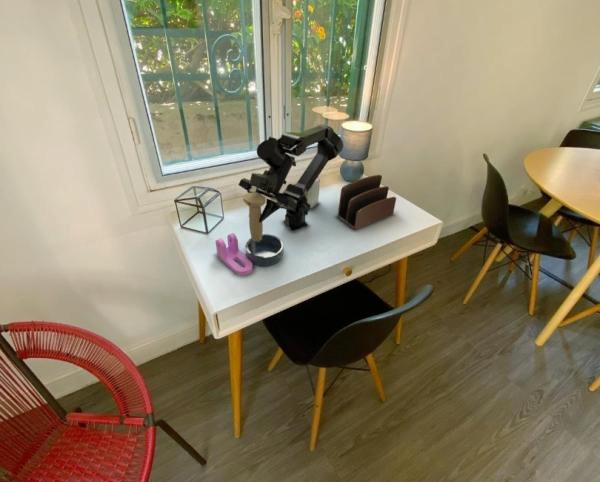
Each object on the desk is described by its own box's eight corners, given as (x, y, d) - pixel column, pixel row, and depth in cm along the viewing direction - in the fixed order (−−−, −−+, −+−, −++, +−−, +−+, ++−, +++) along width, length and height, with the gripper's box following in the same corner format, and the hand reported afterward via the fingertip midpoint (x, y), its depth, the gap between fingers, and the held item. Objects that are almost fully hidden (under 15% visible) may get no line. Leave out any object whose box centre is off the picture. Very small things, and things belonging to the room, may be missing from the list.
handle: (260, 247, 100) (258, 204, 91) (243, 239, 102) (240, 198, 94) (269, 238, 103) (268, 197, 95) (253, 231, 106) (250, 191, 97)
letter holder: (336, 217, 125) (340, 183, 117) (375, 203, 134) (381, 171, 126) (354, 230, 118) (360, 196, 110) (393, 214, 128) (401, 182, 120)
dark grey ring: (271, 239, 112) (271, 230, 110) (290, 259, 104) (290, 249, 102) (240, 251, 107) (239, 241, 105) (257, 272, 99) (256, 262, 97)
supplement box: (318, 203, 133) (320, 177, 126) (311, 209, 128) (312, 183, 122) (306, 198, 135) (307, 173, 128) (298, 205, 131) (299, 179, 124)
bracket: (217, 255, 105) (214, 238, 101) (232, 248, 108) (230, 231, 104) (240, 277, 97) (239, 259, 93) (256, 269, 100) (255, 251, 96)
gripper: (240, 152, 96) (216, 201, 95) (291, 171, 88) (265, 224, 87) (259, 168, 106) (237, 211, 105) (307, 186, 98) (284, 233, 97)
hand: (254, 219), depth 98 cm, fingers closed on handle, 3 cm apart
